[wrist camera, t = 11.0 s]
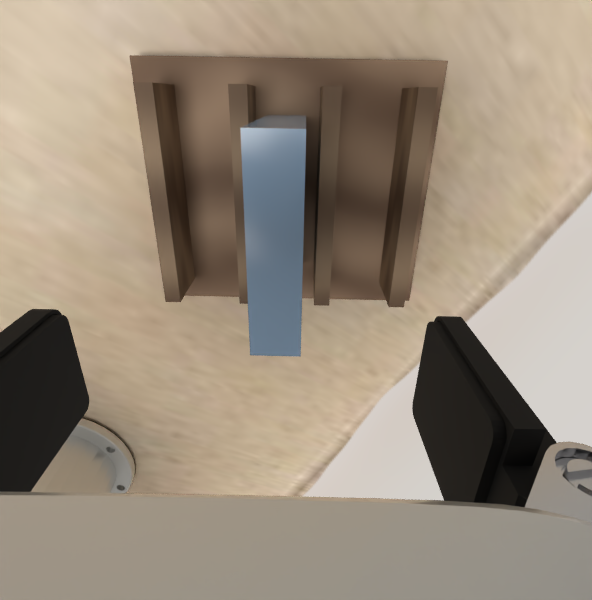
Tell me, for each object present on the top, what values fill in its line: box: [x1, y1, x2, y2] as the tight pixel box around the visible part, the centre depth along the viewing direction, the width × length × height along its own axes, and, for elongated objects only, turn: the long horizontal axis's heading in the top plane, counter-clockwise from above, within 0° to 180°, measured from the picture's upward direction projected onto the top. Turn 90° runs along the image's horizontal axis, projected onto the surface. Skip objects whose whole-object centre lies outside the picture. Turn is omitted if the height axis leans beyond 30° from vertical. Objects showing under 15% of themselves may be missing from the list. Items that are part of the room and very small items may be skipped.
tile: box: [240, 115, 306, 356], centre depth 22 cm, size 10×2×12 cm, turn 179°
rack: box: [130, 55, 448, 307], centre depth 26 cm, size 16×19×5 cm
